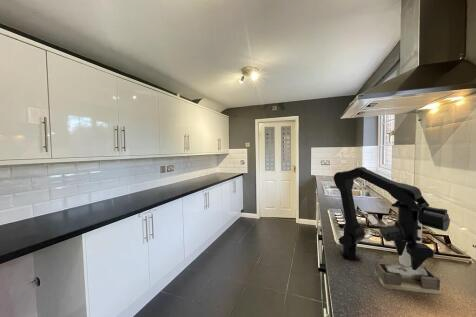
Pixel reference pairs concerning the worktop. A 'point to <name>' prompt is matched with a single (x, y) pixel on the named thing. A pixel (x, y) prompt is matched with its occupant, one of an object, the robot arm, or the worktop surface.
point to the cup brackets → (424, 282)
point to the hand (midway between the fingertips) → (406, 262)
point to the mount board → (408, 286)
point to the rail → (406, 272)
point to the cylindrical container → (405, 256)
